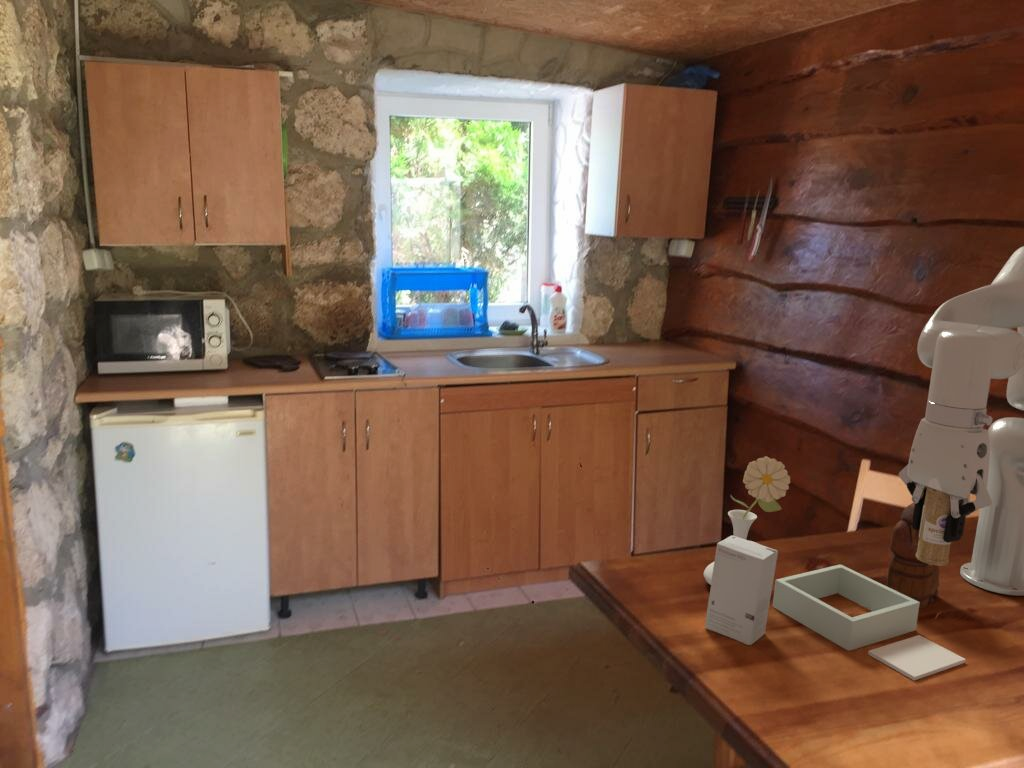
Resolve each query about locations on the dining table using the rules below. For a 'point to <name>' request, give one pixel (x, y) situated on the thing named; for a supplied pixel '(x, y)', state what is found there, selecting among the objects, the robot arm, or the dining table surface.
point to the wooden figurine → (911, 563)
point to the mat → (916, 657)
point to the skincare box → (741, 589)
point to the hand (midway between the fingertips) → (936, 533)
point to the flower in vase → (757, 496)
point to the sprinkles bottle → (934, 526)
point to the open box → (803, 605)
